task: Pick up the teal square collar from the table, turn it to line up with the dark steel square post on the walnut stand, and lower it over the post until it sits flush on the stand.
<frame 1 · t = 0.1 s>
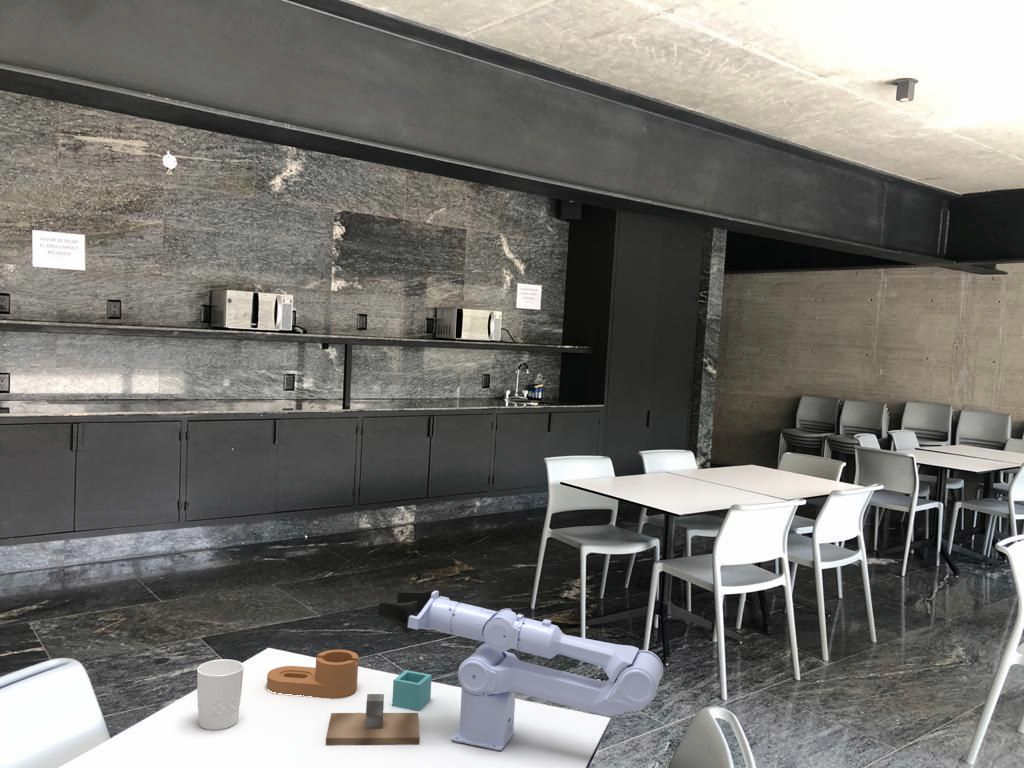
hand: (389, 602, 153), 22 cm above the table, tool horizontal, fingers open, 7 cm apart
white cup: (218, 723, 148), on the table
bracket: (311, 690, 165), on the table
post stand: (373, 731, 147), on the table
teal collar: (411, 702, 160), on the table
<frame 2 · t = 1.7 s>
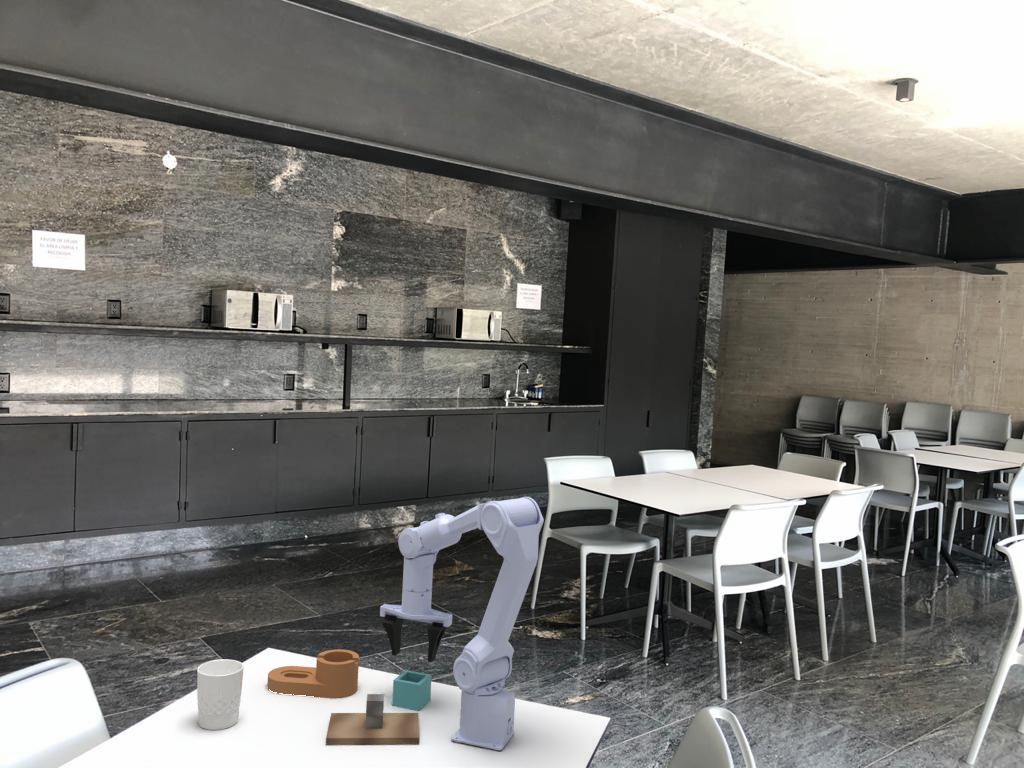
hand: (413, 657, 160), 9 cm above the table, tool pointing down, fingers open, 7 cm apart
nothing on the table moved.
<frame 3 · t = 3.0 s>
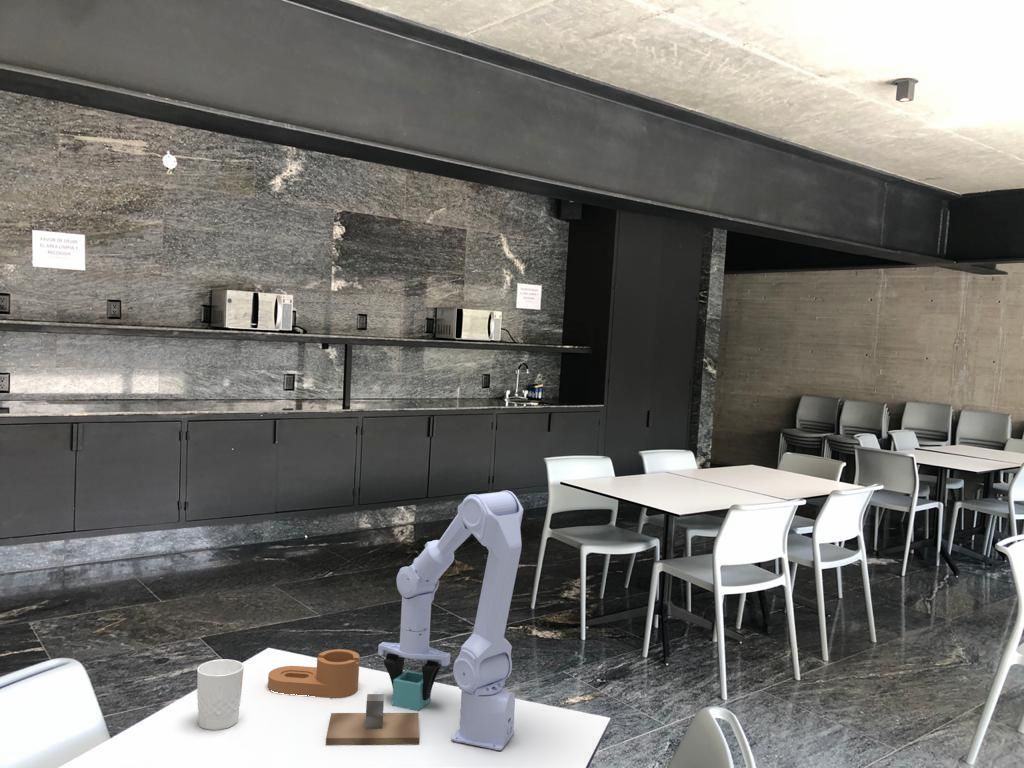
hand: (411, 695, 160), 1 cm above the table, tool pointing down, fingers closed on teal collar, 6 cm apart
teal collar: (411, 702, 160), on the table, touching gripper
everything else where it was.
when the fingers open (4 cm above the table, at t = 7.2 s): teal collar drops 2 cm, resting on post stand.
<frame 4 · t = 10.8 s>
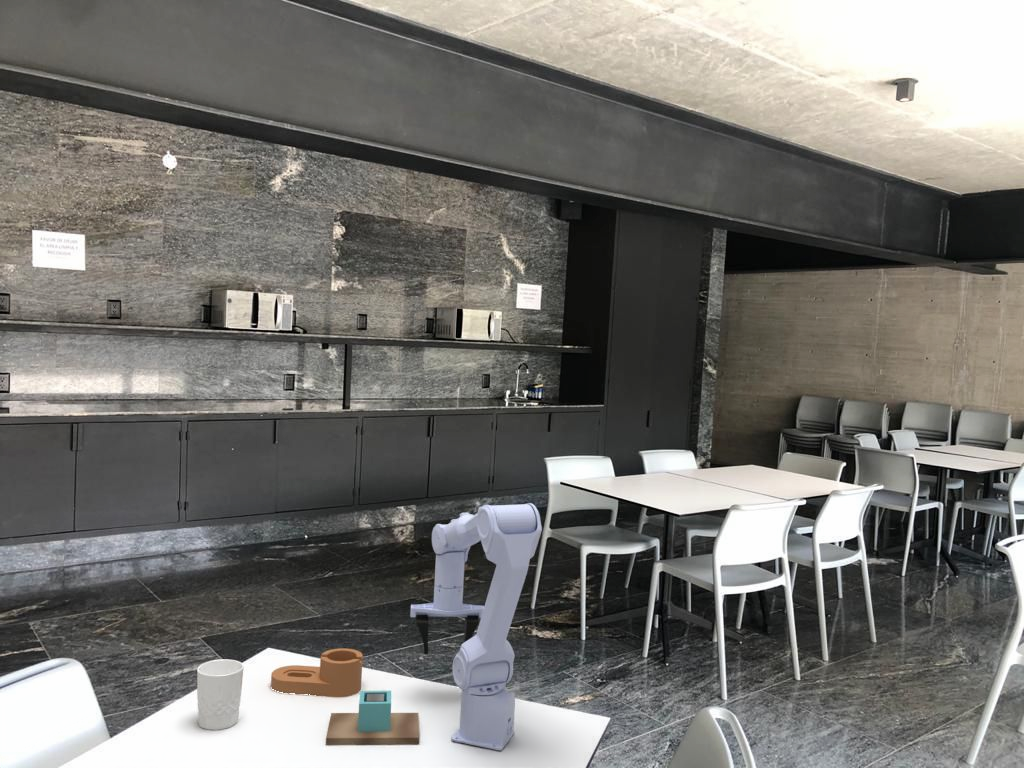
hand: (445, 652, 162), 9 cm above the table, tool pointing down, fingers open, 7 cm apart
teal collar: (374, 724, 147), point 1 cm above the table, touching post stand
everything else where it was.
at the end: teal collar 0.2 cm off-centre on the post stand, point 1.2 cm above the post stand's base; teal collar tilted 0°; the gripper is holding nothing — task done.
